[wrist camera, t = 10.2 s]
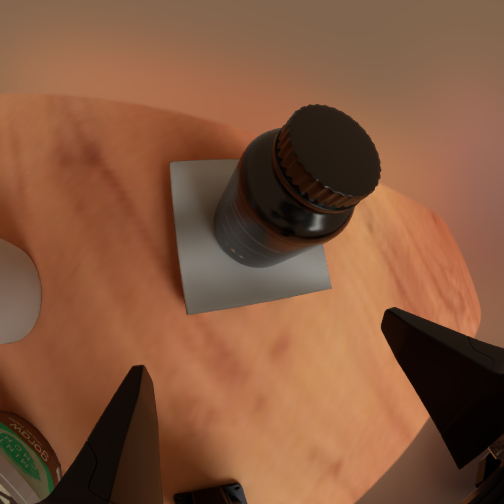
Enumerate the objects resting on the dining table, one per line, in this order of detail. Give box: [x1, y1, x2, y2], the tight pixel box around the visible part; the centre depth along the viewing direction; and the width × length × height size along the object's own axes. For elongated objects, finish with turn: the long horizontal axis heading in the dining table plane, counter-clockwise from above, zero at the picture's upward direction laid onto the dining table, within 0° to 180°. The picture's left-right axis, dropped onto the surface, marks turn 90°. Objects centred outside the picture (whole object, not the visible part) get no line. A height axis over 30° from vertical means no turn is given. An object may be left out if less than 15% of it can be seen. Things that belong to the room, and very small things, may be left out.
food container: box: [0, 411, 62, 504], centre depth 9 cm, size 12×6×10 cm, turn 60°
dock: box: [169, 159, 332, 315], centre depth 23 cm, size 12×12×2 cm
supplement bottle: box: [214, 104, 381, 268], centre depth 16 cm, size 7×7×12 cm
